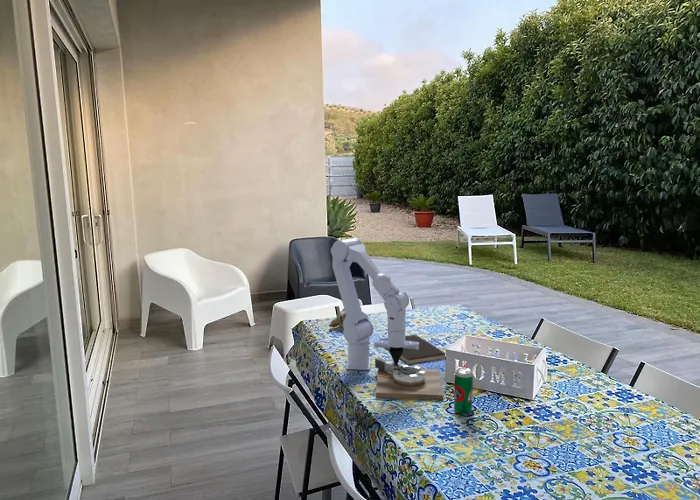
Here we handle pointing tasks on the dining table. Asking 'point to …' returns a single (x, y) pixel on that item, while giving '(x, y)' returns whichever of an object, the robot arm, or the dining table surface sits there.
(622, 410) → the dining table surface
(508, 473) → the dining table surface
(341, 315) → the ceramic sculpture
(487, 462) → the dining table surface
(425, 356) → the hardcover book
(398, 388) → the walnut board
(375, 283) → the robot arm
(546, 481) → the dining table surface
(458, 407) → the soda can
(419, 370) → the silver mechanical part
